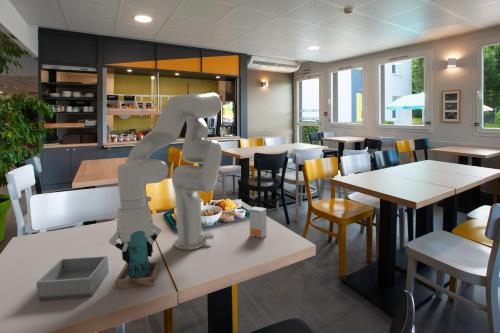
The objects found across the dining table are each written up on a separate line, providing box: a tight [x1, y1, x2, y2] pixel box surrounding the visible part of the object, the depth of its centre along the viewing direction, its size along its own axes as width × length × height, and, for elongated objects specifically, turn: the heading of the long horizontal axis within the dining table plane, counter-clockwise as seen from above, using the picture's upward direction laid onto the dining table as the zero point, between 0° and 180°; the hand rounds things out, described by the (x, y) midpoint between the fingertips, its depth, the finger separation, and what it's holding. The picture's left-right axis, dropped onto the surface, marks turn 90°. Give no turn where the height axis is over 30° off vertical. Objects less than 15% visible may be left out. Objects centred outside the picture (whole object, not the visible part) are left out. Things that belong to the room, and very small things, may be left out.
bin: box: [36, 255, 110, 302], centre depth 91 cm, size 14×14×6 cm
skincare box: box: [249, 206, 267, 239], centre depth 126 cm, size 6×4×12 cm
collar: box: [114, 260, 161, 290], centre depth 95 cm, size 11×11×2 cm
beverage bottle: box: [127, 231, 151, 278], centre depth 93 cm, size 6×7×20 cm
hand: (138, 258), depth 94 cm, fingers closed on beverage bottle, 6 cm apart
